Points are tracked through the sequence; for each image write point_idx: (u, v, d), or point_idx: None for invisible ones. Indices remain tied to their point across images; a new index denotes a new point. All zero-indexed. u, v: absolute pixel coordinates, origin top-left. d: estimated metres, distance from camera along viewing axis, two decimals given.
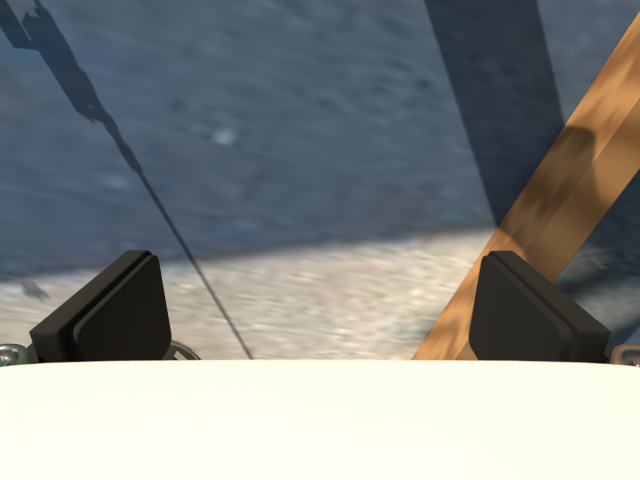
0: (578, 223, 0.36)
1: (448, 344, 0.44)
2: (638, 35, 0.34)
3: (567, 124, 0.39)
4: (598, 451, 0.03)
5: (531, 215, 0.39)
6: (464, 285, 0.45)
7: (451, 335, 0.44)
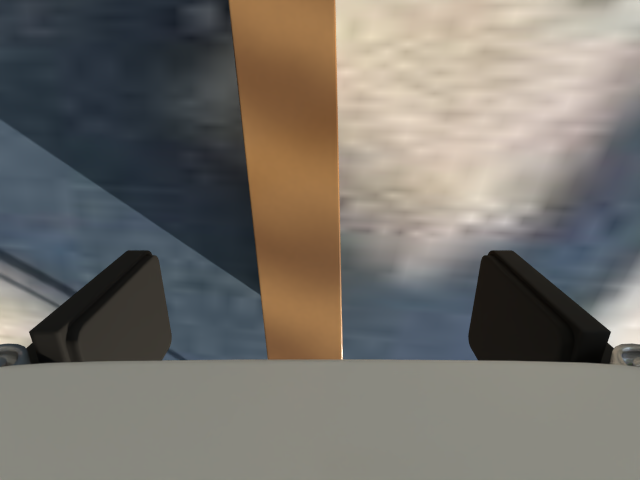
0: None
1: None
2: None
3: None
4: (598, 451, 0.03)
5: None
6: None
7: None
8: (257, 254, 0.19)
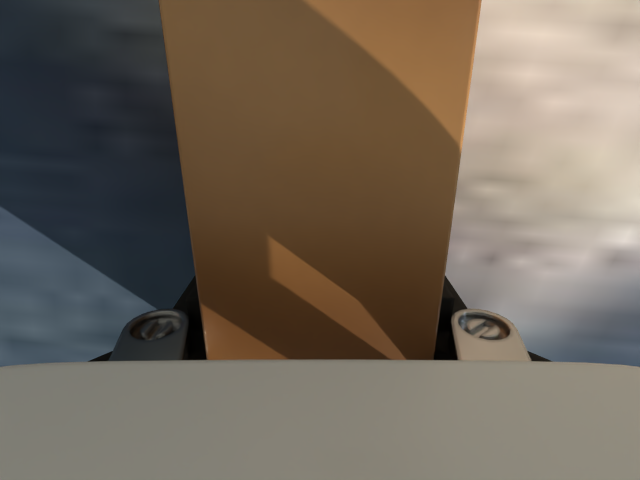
0: None
1: None
2: None
3: None
4: (598, 451, 0.03)
5: None
6: None
7: None
8: (206, 333, 0.07)
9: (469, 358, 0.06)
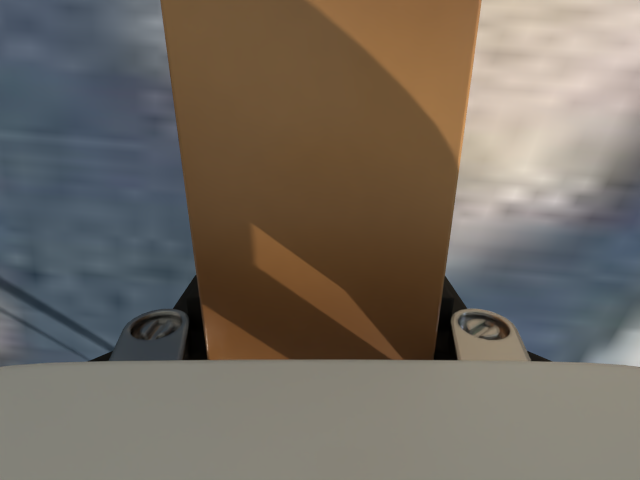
0: None
1: None
2: None
3: None
4: (598, 451, 0.03)
5: None
6: None
7: None
8: (206, 332, 0.07)
9: (469, 358, 0.06)
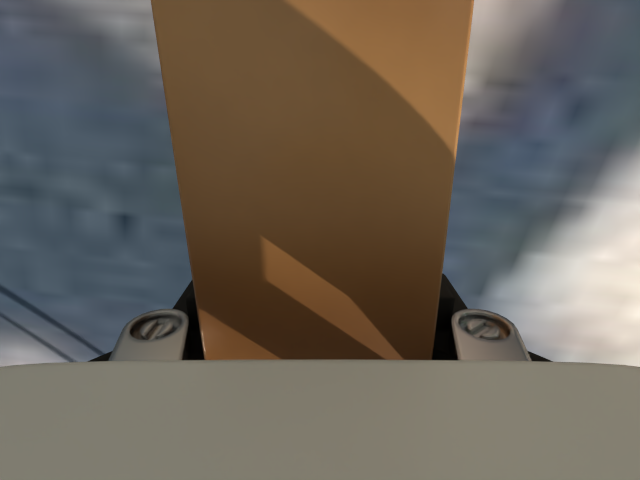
0: None
1: None
2: None
3: None
4: (598, 451, 0.03)
5: None
6: None
7: None
8: (203, 335, 0.07)
9: (469, 358, 0.06)
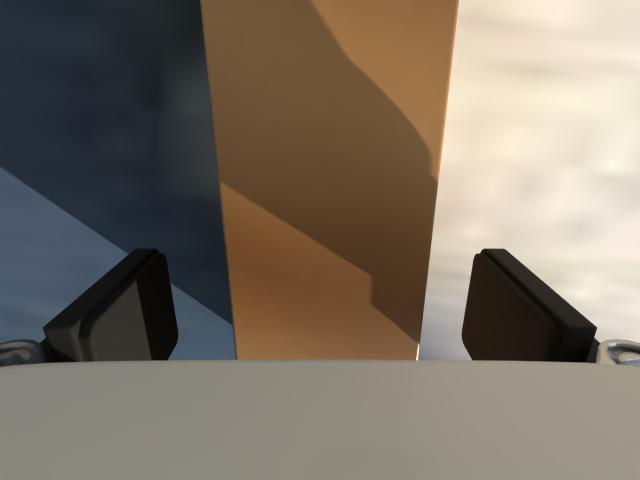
0: None
1: None
2: None
3: None
4: (598, 451, 0.03)
5: None
6: None
7: None
8: (230, 282, 0.08)
9: None
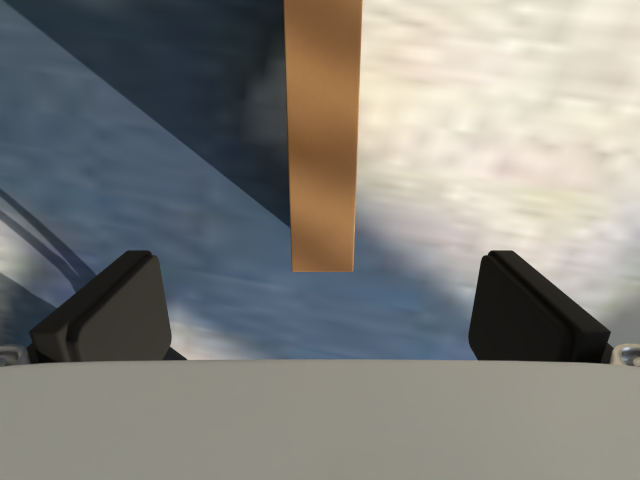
0: None
1: None
2: None
3: None
4: (598, 451, 0.03)
5: None
6: None
7: None
8: (289, 157, 0.23)
9: None
